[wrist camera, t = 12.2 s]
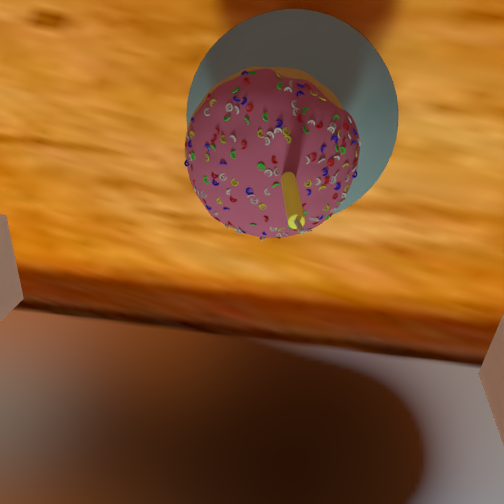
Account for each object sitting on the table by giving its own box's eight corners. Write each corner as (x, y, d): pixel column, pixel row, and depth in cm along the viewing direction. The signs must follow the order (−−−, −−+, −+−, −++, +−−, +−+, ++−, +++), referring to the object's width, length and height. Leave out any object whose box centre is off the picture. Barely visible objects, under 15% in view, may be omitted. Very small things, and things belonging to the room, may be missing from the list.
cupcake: (366, 59, 25) (388, 114, 14) (344, 209, 29) (349, 334, 18) (205, 50, 26) (116, 94, 15) (206, 195, 30) (138, 307, 19)
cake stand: (402, 11, 31) (422, 20, 23) (366, 184, 37) (374, 234, 29) (221, -4, 32) (186, -1, 25) (215, 166, 38) (186, 209, 31)
